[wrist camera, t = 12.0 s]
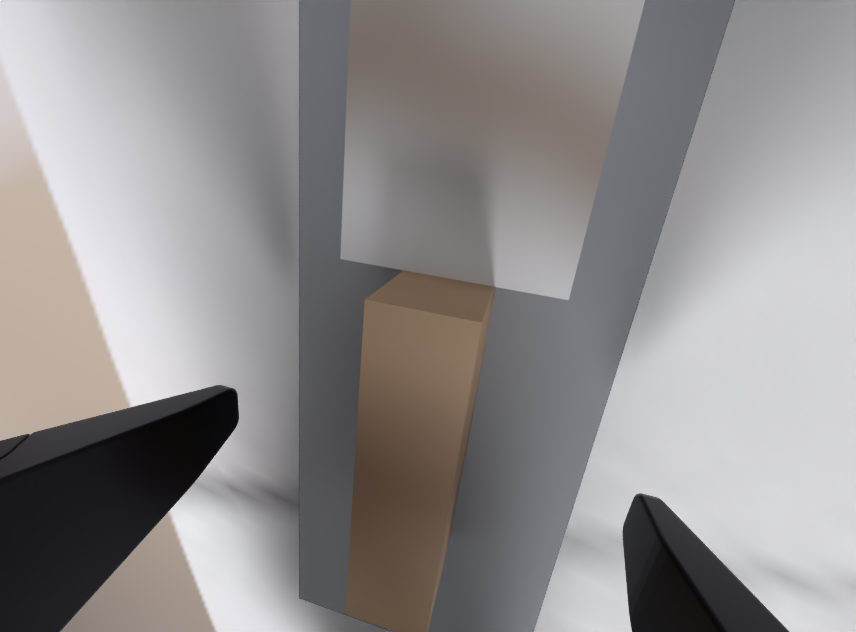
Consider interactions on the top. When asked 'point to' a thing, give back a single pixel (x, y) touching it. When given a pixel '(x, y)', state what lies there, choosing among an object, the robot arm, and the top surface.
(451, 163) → the turner
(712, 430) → the top surface
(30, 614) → the robot arm
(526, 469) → the mat
